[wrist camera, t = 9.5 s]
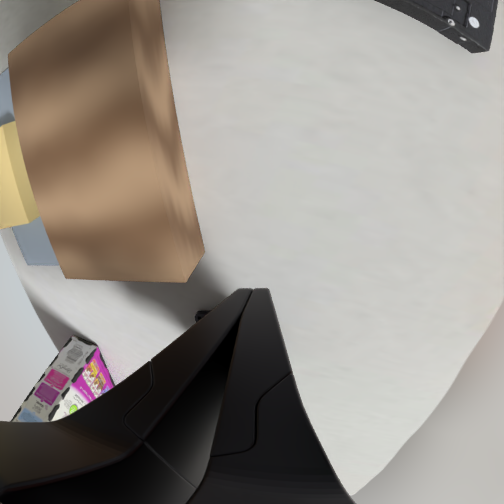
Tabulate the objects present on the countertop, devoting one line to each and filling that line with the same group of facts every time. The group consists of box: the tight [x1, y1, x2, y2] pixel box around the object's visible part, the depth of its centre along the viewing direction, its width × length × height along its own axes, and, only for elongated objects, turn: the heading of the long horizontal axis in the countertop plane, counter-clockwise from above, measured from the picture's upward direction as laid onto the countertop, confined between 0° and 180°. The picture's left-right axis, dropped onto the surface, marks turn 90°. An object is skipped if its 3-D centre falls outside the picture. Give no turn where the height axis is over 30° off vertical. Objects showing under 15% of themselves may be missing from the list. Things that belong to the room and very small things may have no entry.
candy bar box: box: [10, 336, 115, 422], centre depth 29 cm, size 11×5×16 cm, turn 175°
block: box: [0, 121, 40, 229], centre depth 21 cm, size 10×7×2 cm
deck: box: [8, 0, 205, 283], centre depth 17 cm, size 20×12×4 cm, turn 8°
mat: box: [0, 68, 59, 265], centre depth 22 cm, size 22×12×1 cm, turn 8°
